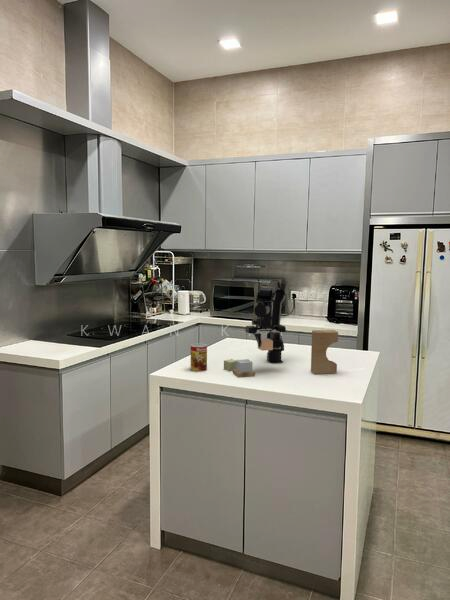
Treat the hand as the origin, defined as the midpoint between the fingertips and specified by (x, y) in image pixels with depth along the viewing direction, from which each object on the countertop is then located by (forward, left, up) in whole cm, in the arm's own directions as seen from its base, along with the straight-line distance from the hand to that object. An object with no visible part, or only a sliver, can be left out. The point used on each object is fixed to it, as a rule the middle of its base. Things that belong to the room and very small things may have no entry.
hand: (265, 346), depth 211 cm
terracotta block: (0, 0, -1) cm, 1 cm away
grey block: (+12, +4, -10) cm, 16 cm away
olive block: (+15, -6, -12) cm, 20 cm away
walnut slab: (+12, +4, -12) cm, 18 cm away
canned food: (+30, -10, -12) cm, 34 cm away
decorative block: (-26, +10, -12) cm, 30 cm away
